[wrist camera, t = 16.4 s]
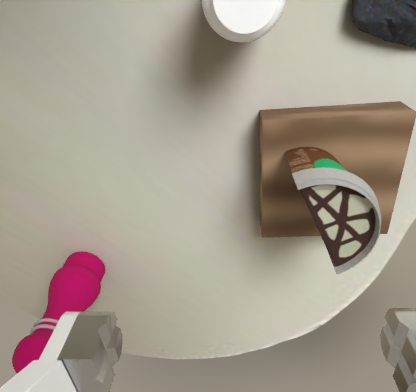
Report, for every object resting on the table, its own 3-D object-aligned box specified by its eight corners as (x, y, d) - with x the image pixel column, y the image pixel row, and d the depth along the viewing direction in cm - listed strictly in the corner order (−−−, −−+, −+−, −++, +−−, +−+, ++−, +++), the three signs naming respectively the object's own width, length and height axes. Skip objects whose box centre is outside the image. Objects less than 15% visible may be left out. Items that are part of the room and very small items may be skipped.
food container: (365, 203, 42) (400, 258, 33) (316, 221, 43) (338, 278, 35) (334, 115, 36) (367, 155, 28) (280, 140, 38) (295, 184, 29)
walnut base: (259, 110, 40) (262, 121, 37) (400, 101, 39) (416, 112, 36) (259, 219, 49) (262, 237, 45) (375, 215, 47) (387, 233, 44)
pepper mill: (86, 287, 58) (27, 412, 41) (54, 260, 55) (-24, 383, 38) (117, 271, 55) (68, 396, 38) (85, 241, 52) (17, 364, 35)
